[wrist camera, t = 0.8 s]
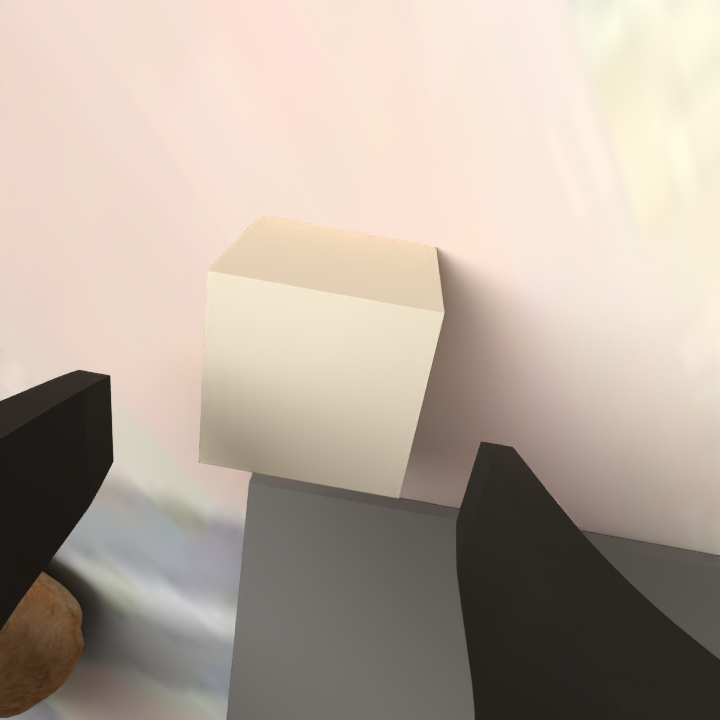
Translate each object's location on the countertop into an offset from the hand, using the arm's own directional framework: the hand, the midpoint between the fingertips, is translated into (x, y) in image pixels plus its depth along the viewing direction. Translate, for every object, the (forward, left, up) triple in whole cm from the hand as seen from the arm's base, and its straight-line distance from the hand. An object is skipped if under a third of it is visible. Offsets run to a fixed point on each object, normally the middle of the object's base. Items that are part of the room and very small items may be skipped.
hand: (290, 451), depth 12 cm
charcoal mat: (-8, +14, -7) cm, 18 cm away
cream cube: (0, 0, -7) cm, 7 cm away
